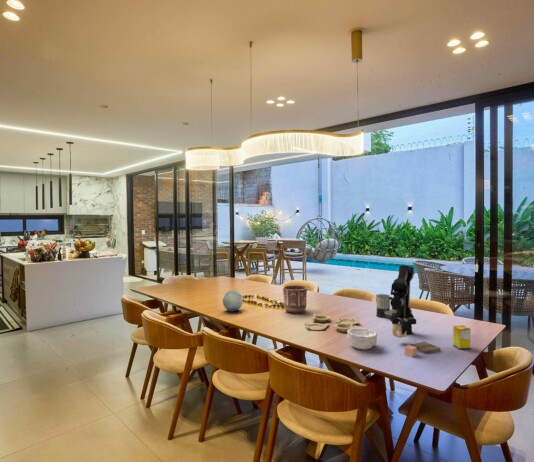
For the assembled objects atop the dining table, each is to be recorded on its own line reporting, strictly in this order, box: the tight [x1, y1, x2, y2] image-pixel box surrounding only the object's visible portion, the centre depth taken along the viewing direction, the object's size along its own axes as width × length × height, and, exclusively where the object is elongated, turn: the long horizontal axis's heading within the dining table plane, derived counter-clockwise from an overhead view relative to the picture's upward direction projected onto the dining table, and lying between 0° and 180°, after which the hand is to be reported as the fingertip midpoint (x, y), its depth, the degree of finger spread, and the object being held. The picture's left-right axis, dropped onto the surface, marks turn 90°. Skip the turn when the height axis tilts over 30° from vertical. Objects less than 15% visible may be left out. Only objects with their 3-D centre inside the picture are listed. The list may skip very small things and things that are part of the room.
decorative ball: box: [222, 290, 244, 312], centre depth 255 cm, size 15×15×15 cm
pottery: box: [282, 284, 308, 315], centre depth 253 cm, size 18×18×18 cm
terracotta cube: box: [404, 344, 418, 358], centre depth 170 cm, size 4×4×4 cm
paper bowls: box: [346, 327, 378, 350], centre depth 182 cm, size 15×15×8 cm
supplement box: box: [452, 324, 471, 350], centre depth 179 cm, size 6×6×11 cm
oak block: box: [392, 322, 407, 339], centre depth 186 cm, size 5×5×6 cm
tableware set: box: [303, 312, 361, 333], centre depth 219 cm, size 35×29×4 cm
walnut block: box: [410, 341, 441, 355], centre depth 178 cm, size 10×10×2 cm
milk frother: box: [375, 293, 394, 319], centre depth 242 cm, size 14×16×15 cm
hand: (399, 333), depth 186 cm, fingers closed on oak block, 5 cm apart
